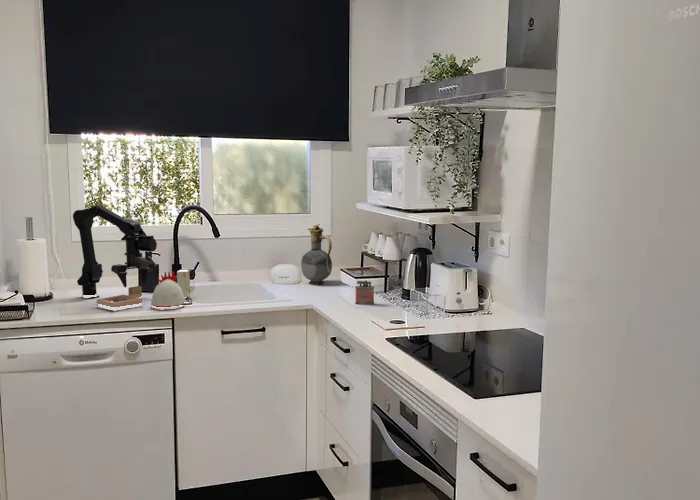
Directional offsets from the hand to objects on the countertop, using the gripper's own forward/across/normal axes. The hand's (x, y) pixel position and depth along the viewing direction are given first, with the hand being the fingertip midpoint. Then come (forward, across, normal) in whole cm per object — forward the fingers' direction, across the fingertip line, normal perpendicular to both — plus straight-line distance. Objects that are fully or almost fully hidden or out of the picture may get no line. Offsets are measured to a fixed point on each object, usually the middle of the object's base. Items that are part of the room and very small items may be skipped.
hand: (134, 285), depth 293 cm
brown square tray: (+6, -12, -7) cm, 15 cm away
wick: (+6, 0, 0) cm, 7 cm away
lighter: (+6, +55, -85) cm, 102 cm away
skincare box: (+7, +17, -12) cm, 22 cm away
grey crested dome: (+7, +1, -22) cm, 23 cm away
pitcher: (+6, +78, -39) cm, 88 cm away
